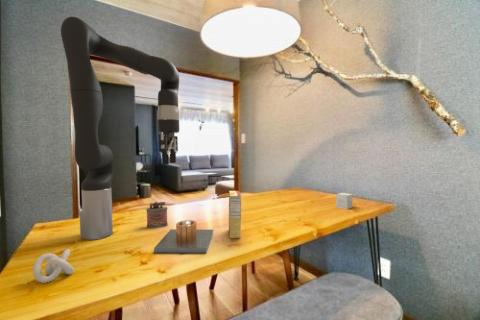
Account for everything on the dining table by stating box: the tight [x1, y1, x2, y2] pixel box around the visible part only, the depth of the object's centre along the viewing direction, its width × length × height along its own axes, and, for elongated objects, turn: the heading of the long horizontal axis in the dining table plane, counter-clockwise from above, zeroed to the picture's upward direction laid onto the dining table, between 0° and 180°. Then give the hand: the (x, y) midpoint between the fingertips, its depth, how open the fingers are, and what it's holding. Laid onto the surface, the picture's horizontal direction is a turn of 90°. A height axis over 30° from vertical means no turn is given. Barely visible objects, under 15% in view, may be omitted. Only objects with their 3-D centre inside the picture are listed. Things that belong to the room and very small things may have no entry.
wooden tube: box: [175, 219, 198, 242], centre depth 78 cm, size 7×7×5 cm
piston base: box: [153, 220, 214, 254], centre depth 78 cm, size 16×16×7 cm
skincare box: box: [335, 192, 354, 210], centre depth 123 cm, size 6×6×7 cm
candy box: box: [228, 190, 242, 239], centre depth 85 cm, size 9×4×15 cm, turn 6°
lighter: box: [146, 201, 169, 229], centre depth 94 cm, size 8×3×10 cm, turn 105°
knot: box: [32, 248, 75, 284], centre depth 57 cm, size 8×8×6 cm
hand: (169, 163), depth 85 cm, fingers open, 8 cm apart
